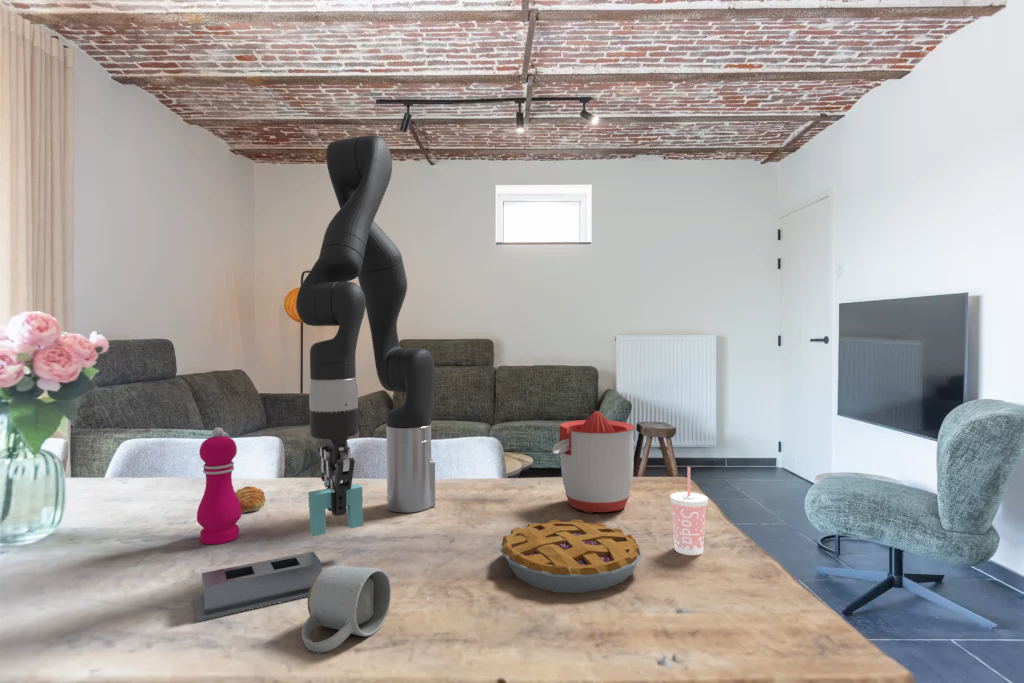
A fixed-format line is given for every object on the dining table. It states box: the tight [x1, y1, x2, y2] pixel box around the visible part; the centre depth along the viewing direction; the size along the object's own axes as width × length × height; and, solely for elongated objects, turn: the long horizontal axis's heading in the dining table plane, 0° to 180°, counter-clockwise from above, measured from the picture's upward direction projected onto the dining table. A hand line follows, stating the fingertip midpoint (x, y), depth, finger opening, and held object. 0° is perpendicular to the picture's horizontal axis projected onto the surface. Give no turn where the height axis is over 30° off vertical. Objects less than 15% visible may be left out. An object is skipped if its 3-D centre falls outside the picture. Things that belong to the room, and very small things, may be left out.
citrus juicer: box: [552, 410, 636, 514], centre depth 126 cm, size 16×17×20 cm
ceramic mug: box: [301, 565, 392, 654], centre depth 74 cm, size 11×8×8 cm
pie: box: [499, 519, 643, 594], centre depth 94 cm, size 22×22×5 cm
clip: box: [308, 483, 364, 537], centre depth 97 cm, size 8×2×6 cm, turn 121°
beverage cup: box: [669, 466, 709, 556], centre depth 101 cm, size 6×6×14 cm
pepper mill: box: [196, 426, 243, 545], centre depth 107 cm, size 7×7×20 cm
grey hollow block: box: [192, 551, 323, 623], centre depth 84 cm, size 17×7×4 cm, turn 121°
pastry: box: [235, 485, 267, 514], centre depth 126 cm, size 9×7×4 cm
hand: (336, 511), depth 97 cm, fingers closed on clip, 2 cm apart
